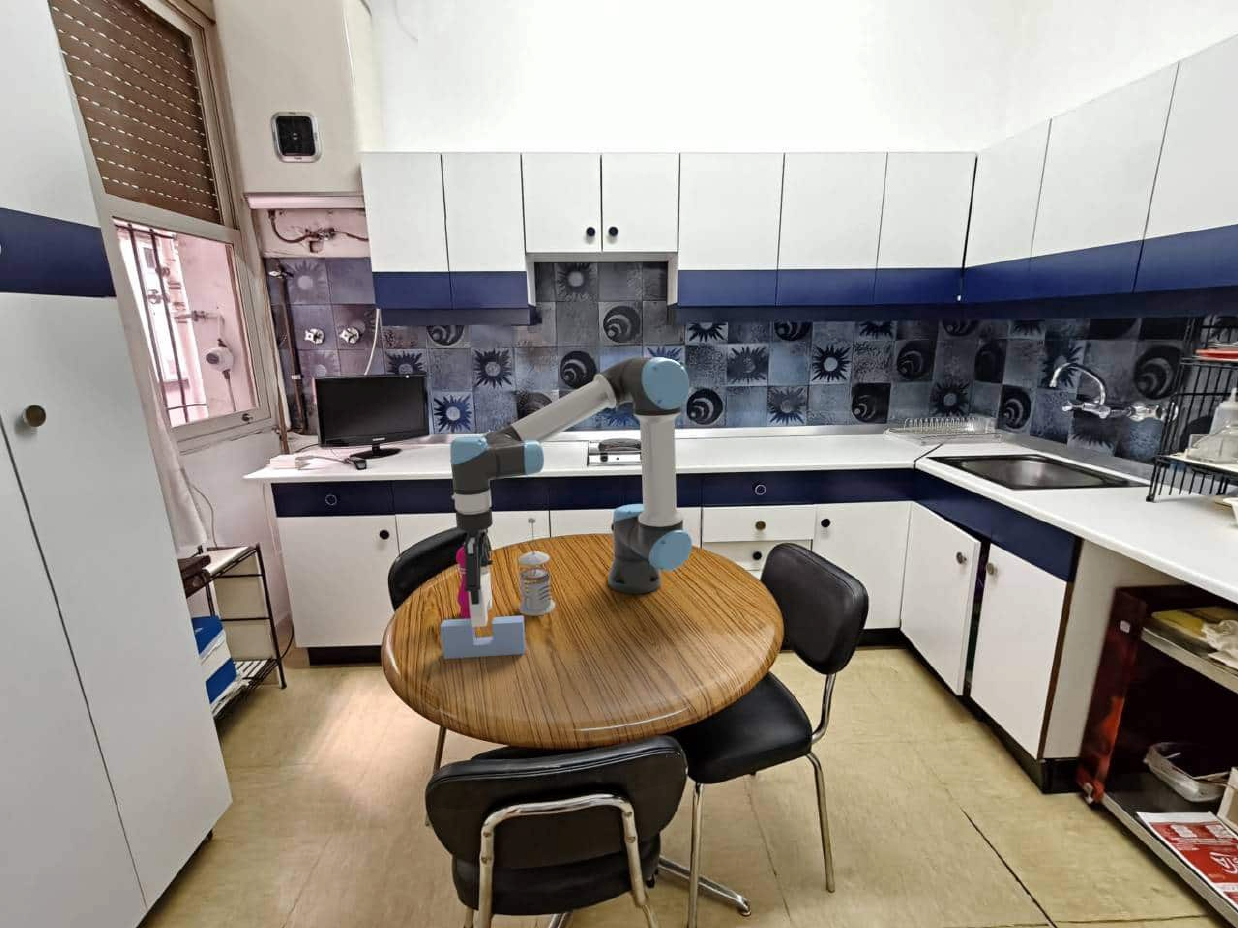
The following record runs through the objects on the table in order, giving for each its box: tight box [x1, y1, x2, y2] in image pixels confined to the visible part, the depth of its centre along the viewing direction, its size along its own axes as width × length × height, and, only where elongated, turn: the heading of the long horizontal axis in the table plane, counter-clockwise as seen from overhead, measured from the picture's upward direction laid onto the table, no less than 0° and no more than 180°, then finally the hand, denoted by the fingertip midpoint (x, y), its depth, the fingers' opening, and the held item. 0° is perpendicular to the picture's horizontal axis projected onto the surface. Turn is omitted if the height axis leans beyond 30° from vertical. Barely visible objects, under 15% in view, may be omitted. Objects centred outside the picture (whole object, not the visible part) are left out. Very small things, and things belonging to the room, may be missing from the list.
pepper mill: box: [455, 541, 471, 619], centre depth 140 cm, size 7×7×20 cm
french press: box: [517, 517, 556, 617], centre depth 142 cm, size 10×12×25 cm
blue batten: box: [440, 614, 527, 660], centre depth 123 cm, size 18×3×8 cm, turn 95°
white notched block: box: [471, 571, 493, 628], centre depth 121 cm, size 10×3×8 cm, turn 5°
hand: (481, 603), depth 122 cm, fingers closed on white notched block, 10 cm apart
